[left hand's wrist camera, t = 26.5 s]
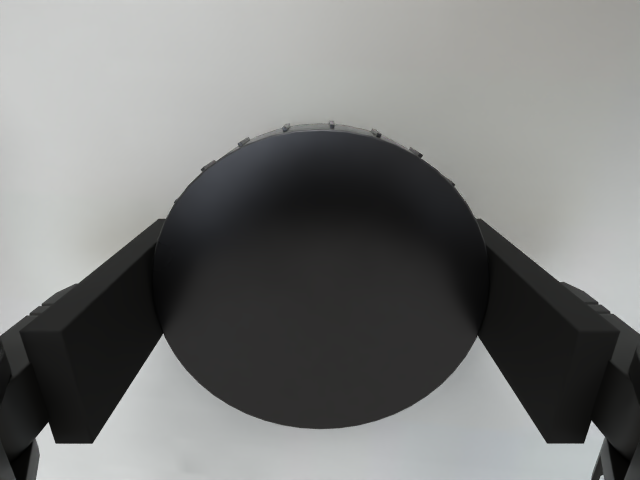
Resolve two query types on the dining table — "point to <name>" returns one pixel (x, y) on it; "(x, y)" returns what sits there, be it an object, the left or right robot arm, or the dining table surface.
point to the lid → (320, 277)
